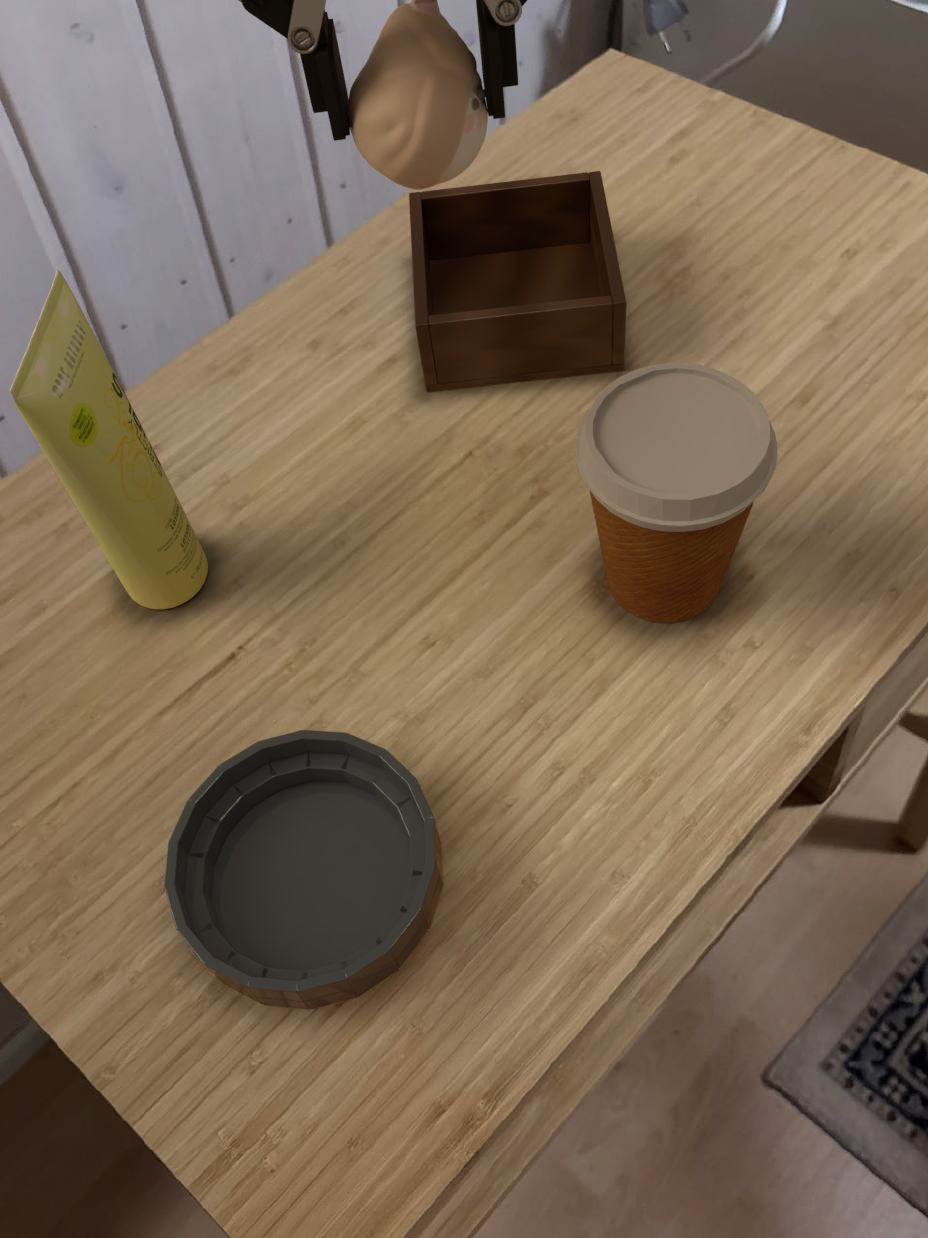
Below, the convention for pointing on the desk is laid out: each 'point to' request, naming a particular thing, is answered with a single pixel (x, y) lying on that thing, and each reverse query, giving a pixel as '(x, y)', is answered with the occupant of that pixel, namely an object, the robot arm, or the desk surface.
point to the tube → (105, 456)
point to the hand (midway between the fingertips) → (417, 107)
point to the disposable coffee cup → (673, 482)
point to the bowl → (305, 869)
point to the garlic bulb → (418, 100)
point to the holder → (516, 282)
